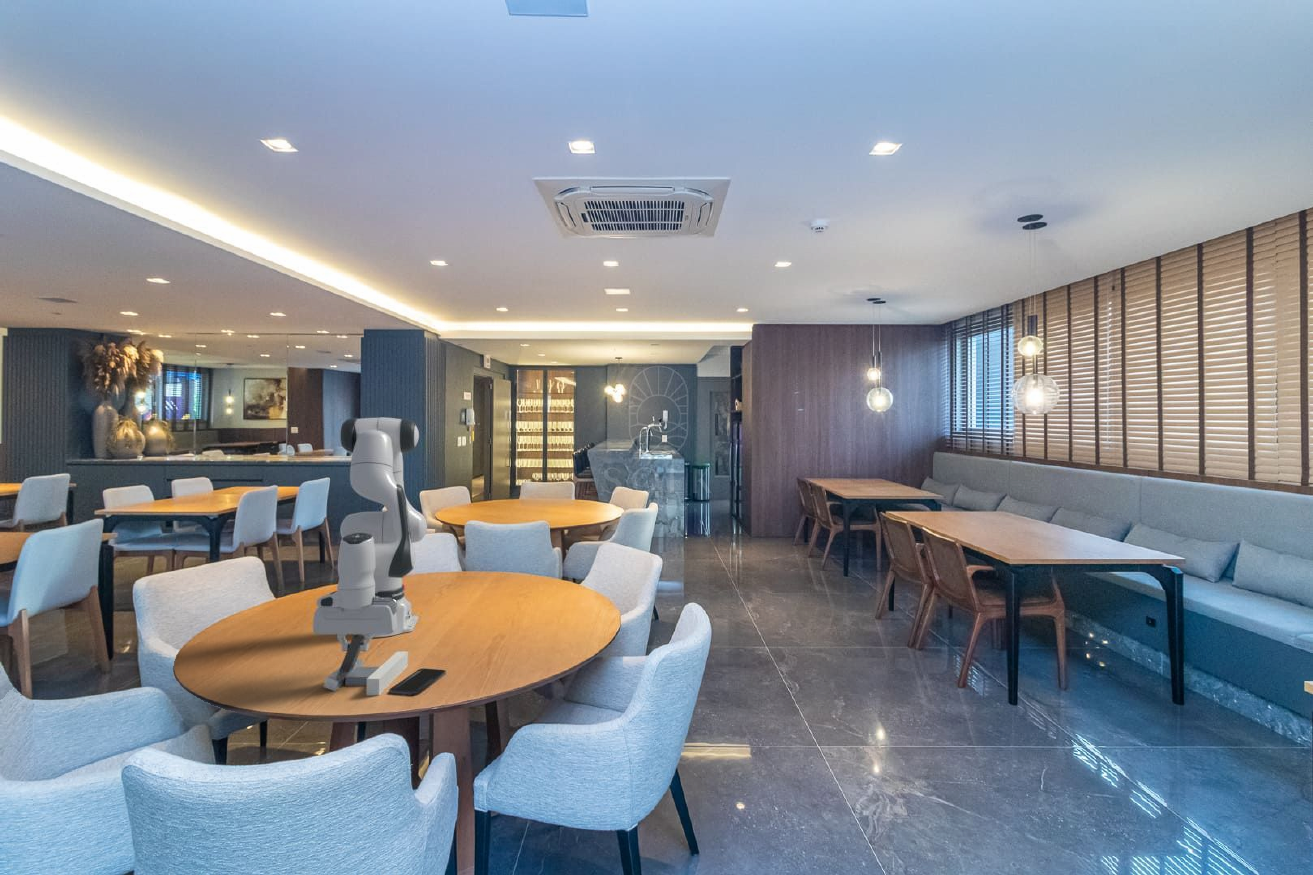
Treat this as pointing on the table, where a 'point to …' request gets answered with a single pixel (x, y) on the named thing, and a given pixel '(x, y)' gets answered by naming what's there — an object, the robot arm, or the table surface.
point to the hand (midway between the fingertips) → (355, 650)
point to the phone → (417, 682)
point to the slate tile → (359, 675)
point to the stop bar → (386, 673)
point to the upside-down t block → (346, 664)
